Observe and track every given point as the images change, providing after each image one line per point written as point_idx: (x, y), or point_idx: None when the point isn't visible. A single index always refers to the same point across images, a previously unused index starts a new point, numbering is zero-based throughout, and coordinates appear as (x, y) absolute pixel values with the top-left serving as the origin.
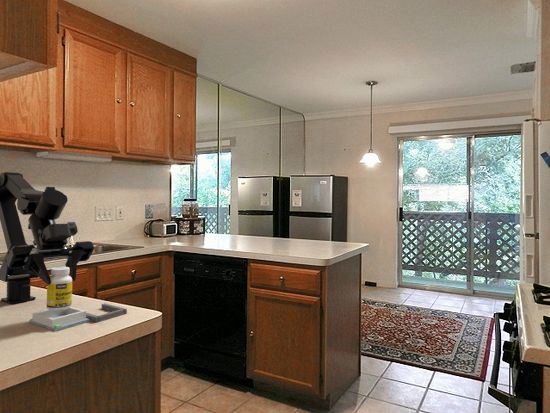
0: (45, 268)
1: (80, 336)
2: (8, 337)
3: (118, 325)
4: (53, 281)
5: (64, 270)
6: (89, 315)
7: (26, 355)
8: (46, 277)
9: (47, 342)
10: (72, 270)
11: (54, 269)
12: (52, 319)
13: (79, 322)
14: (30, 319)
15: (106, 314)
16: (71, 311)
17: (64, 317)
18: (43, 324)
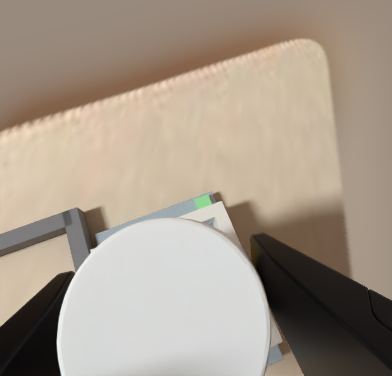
0: (342, 308)
1: (162, 119)
2: (334, 213)
3: (43, 149)
4: (233, 239)
5: (143, 224)
6: (86, 248)
7: (288, 70)
8: (293, 249)
9: (242, 120)
10: (35, 333)
11: (239, 257)
12: (222, 204)
13: (133, 220)
14: (279, 357)
15: (32, 226)
16: None
17: (180, 216)
18: None
